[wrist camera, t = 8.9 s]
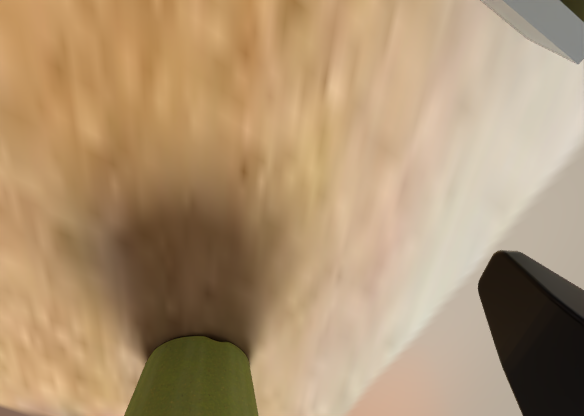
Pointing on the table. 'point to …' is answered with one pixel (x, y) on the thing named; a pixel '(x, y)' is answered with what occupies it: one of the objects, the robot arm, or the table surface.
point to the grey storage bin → (546, 23)
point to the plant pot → (195, 381)
